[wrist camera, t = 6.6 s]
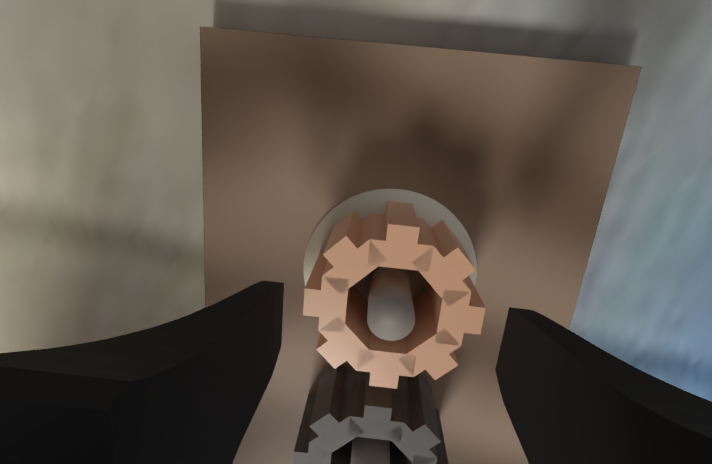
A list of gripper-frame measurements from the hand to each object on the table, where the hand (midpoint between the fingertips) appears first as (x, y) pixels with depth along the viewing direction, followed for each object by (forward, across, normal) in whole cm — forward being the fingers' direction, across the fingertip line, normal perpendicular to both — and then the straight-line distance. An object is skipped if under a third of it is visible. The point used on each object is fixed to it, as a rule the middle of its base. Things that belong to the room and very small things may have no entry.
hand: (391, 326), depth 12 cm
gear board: (+5, 0, +2) cm, 5 cm away
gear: (+4, 0, 0) cm, 4 cm away
